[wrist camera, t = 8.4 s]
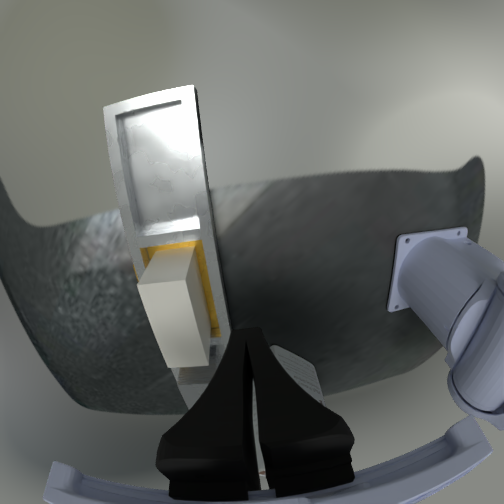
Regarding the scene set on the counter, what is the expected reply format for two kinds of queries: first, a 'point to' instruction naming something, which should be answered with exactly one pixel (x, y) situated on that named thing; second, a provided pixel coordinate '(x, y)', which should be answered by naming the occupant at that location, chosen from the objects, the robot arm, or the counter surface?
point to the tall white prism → (177, 307)
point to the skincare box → (303, 377)
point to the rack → (169, 202)
